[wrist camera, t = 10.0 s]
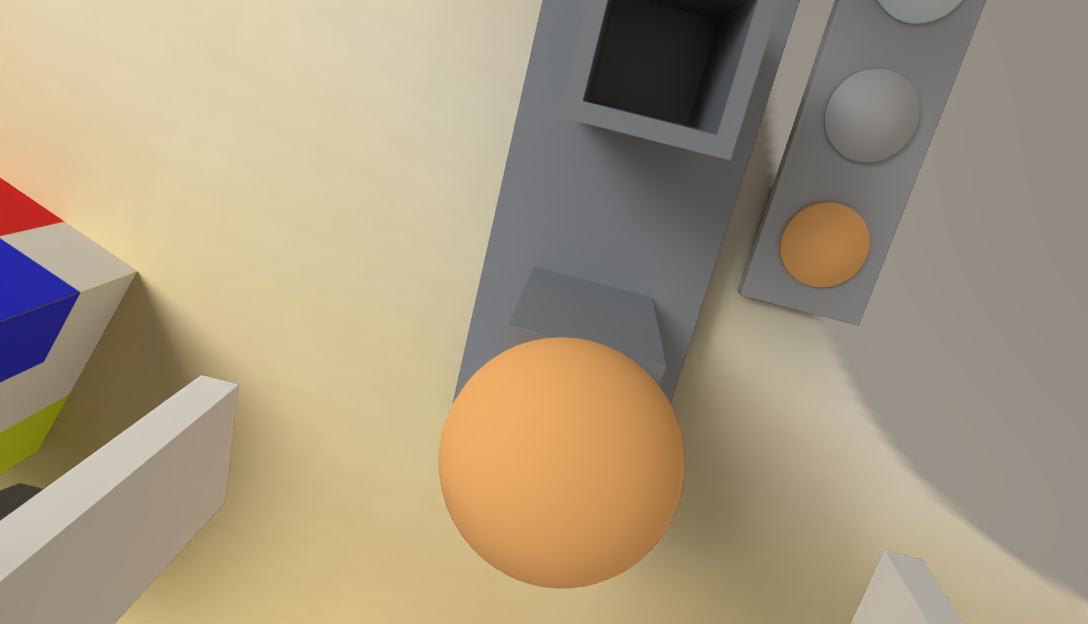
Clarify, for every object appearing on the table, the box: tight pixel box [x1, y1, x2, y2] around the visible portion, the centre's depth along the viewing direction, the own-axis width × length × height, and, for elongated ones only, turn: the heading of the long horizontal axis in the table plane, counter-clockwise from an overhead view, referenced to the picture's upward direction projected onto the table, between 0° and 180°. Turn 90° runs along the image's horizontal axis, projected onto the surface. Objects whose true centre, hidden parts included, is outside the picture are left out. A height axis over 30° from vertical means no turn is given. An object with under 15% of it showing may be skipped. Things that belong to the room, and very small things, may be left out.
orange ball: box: [439, 337, 685, 588], centre depth 18 cm, size 6×6×6 cm
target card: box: [738, 0, 986, 326], centre depth 25 cm, size 14×4×1 cm, turn 166°
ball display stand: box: [452, 0, 800, 405], centre depth 21 cm, size 30×8×8 cm, turn 166°
